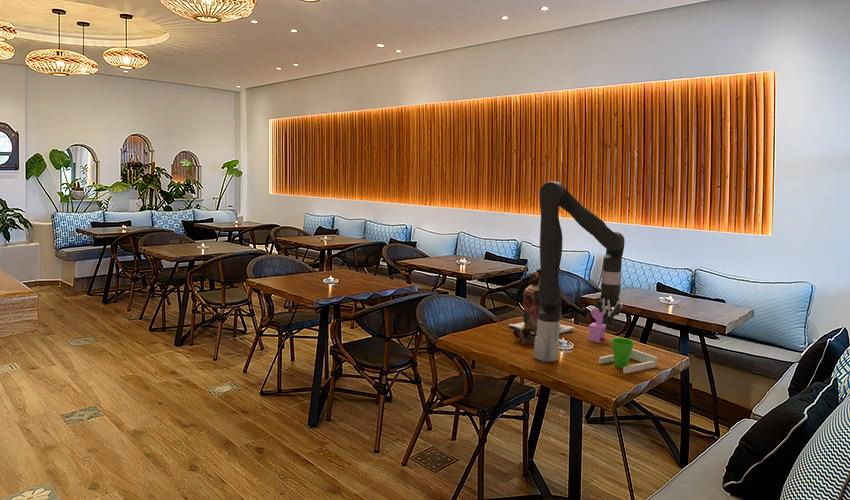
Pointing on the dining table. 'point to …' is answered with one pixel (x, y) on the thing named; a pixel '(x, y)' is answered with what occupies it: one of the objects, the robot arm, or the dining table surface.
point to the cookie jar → (534, 306)
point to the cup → (622, 351)
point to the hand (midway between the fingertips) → (607, 324)
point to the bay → (647, 359)
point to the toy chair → (597, 326)
